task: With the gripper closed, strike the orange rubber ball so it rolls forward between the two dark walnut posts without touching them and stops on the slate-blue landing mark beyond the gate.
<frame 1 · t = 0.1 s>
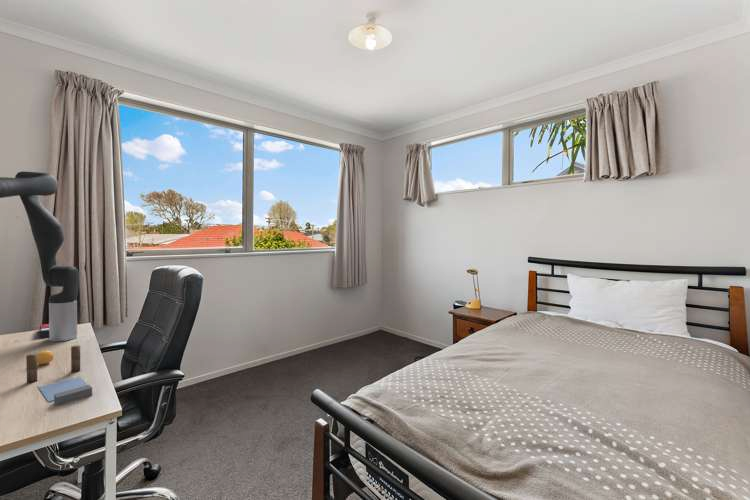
ball: (44, 357, 121), on the table
post 2: (75, 371, 116), on the table
post 1: (32, 381, 107), on the table
stopper wall: (73, 398, 98), on the table
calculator: (56, 333, 156), on the table
landing mark: (65, 388, 104), on the table
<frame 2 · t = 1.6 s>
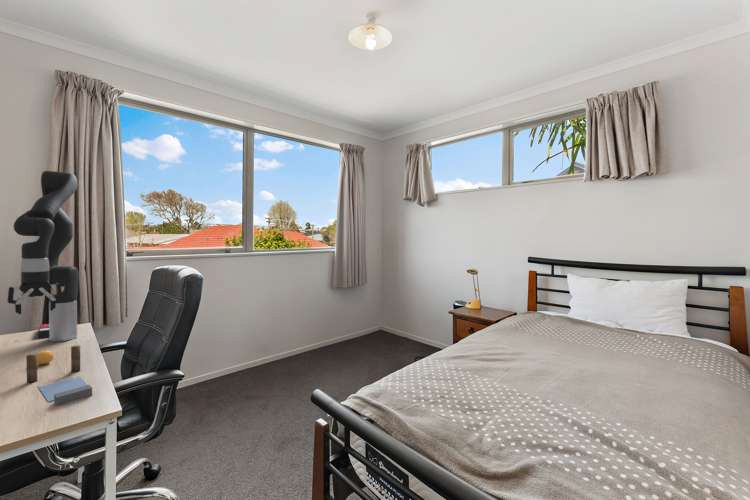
hand: (35, 312, 124), 18 cm above the table, tool pointing down, fingers open, 8 cm apart
nothing on the table moved.
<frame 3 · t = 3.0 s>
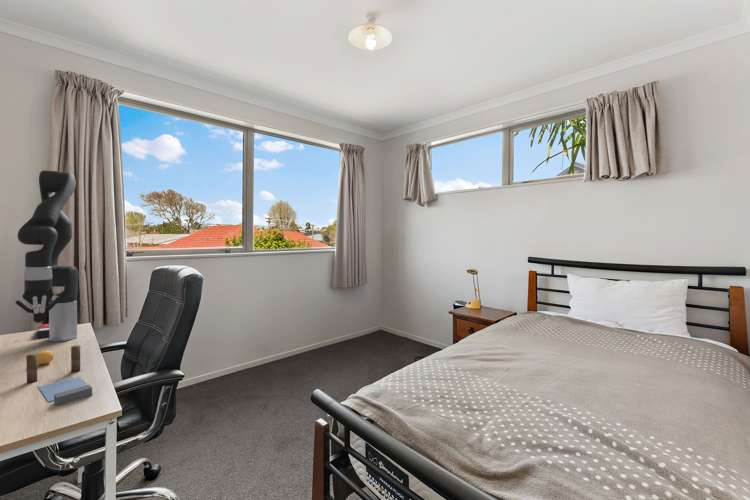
hand: (38, 322, 126), 14 cm above the table, tool pointing down, fingers closed
nothing on the table moved.
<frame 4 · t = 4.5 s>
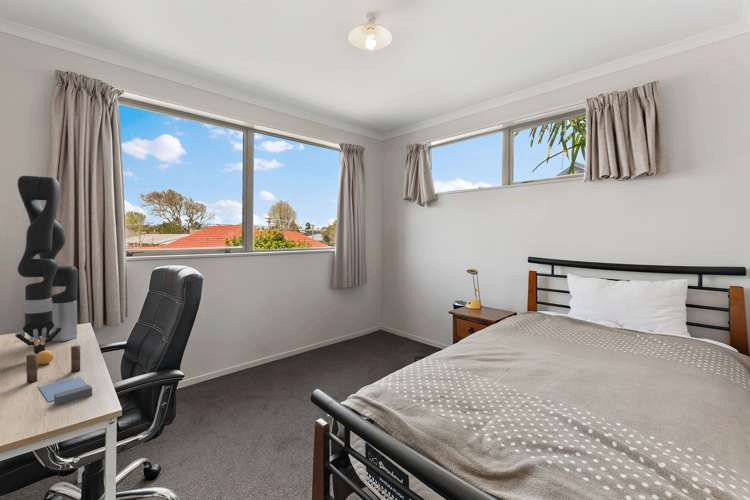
hand: (39, 354, 126), 2 cm above the table, tool pointing down, fingers closed
nothing on the table moved.
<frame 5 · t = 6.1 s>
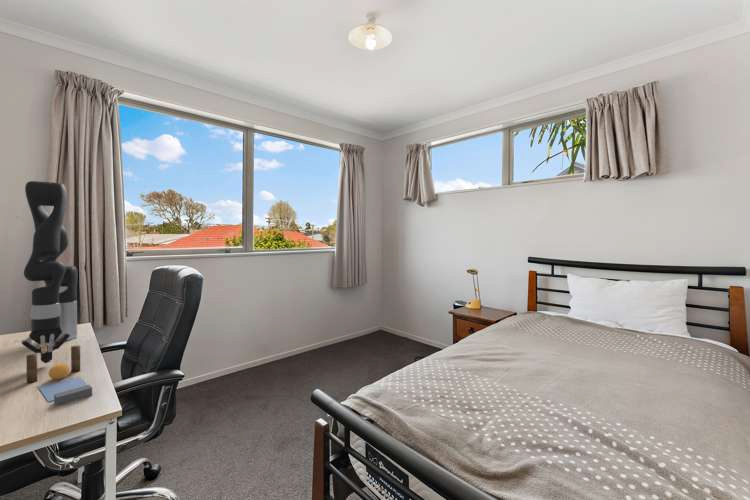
hand: (46, 362, 119), 2 cm above the table, tool pointing down, fingers closed
ball: (58, 371, 110), on the table
everything else where it was.
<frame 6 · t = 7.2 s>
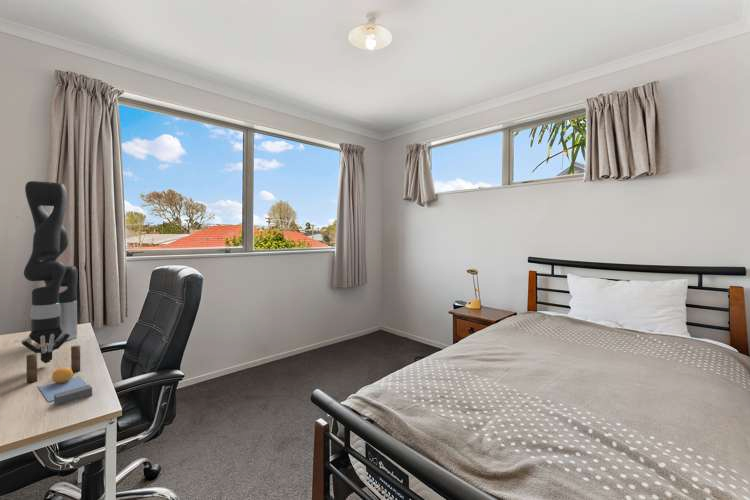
hand: (46, 362, 119), 2 cm above the table, tool pointing down, fingers closed
ball: (62, 375, 108), on the table
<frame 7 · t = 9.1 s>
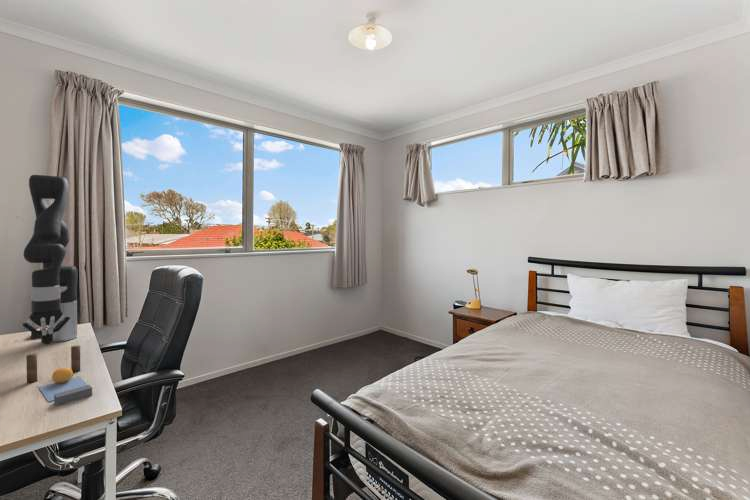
hand: (47, 344, 119), 8 cm above the table, tool pointing down, fingers closed
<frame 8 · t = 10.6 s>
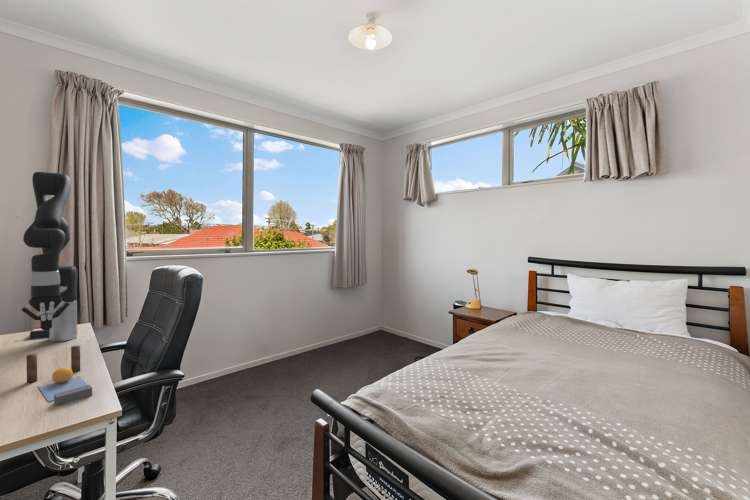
hand: (46, 329, 119), 14 cm above the table, tool pointing down, fingers closed
at the end: ball 6.2 cm from the landing mark (horizontally); ball never touched post 2; ball never touched post 1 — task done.
